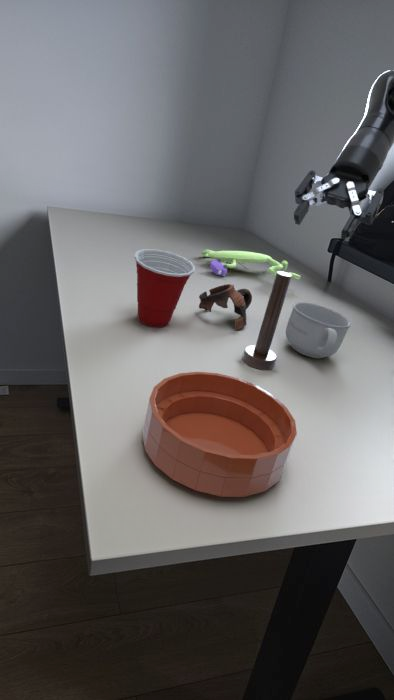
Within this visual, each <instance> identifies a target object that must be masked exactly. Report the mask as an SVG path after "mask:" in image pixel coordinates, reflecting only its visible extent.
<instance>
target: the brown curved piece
mask: <svg viewBox="0 0 394 700" xmlns="http://www.w3.org/2000/svg"><path fill="white" fill-rule="evenodd" d="M208 291H209V294H208V292H207V291H204V292H202V293H200V294H199V296H198V298H199V300H200V301H199V305H198V309H200V310H204V311H205V312H209V313H211V312H212V308H213V307H214V304H215V305H216V306H218V307H221V308H222V309H228V301H229V299H230V300H231V301H232V304H233V312H234V313H235V314H237V315H239V316H238V317H237V318H235V319H234V320H233V323H234V329H235V331H239V330H241V329H243V328H244V327H246V326H247V309H248V308H249V307H250V305H251V304H252V301H253V294H252V292H251V290H249V289H248V288H239V289H238V290H237V289H235V285H234V284H231V283H230V284H229V283H228V284H222V285H219V286H215V287H212V288H211V289H209V290H208Z"/></svg>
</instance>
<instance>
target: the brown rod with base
mask: <svg viewBox="0 0 394 700" xmlns="http://www.w3.org/2000/svg"><path fill="white" fill-rule="evenodd" d="M276 272H277V273H276V275H275V277H274V280H273V283H272V287H271V290H270V295H269V298H268V301H267V305H266V309H265V312H264V315H263V317H262V318H263V319H262V323H261V326H260V328H259V333H258V336H257V340H256V343H255V344H250V345H246V347H245V348H244V352H243V354H242V361H243V362H244V363H245V364H246V365H247V366H249V367H251V368H254V369H256V370H261V371H269V370H272V369H274V368H275V365H276V361H277V358H278V355H277V354H276V353H275V352H274V351H273V350H271V346H272V342H273V340H274V336H275V333H276V329H277V326H278V322H279V319H280V316H281V313H282V309H283V306H284V303H285V300H286V297H287V293H288V289H289V286H290V283H291V280H292V278H293V277H292V275H291V274H289V273H290V272H286V271H285V272H283V271H282V270H277V271H276Z"/></svg>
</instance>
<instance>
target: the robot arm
mask: <svg viewBox="0 0 394 700" xmlns="http://www.w3.org/2000/svg"><path fill="white" fill-rule="evenodd" d="M393 145H394V69H389V70H387V71H384V72H383V73H382V74H380V75H379V76H378V77H377V79H376V80H375V81H374V82H373V84H372V86H371V89H370V91H369V93H368V98H367V103H366V107H365V112H364V116H363V118H362V120H361V121H360V124H359V125H358V127H357V128H356V130H355V132H354V133H353V135H352V136H350V138H349V139H348V140H347V142H346V144H345V145H344V147H343V149H342V150H341V151H340V153H339V155H338V157H337V158H336V159H335V161H334V163H333V165H332V166H331V168H330V170H329V172H328V173H327V174H326V175H324V176H323V177H322V176H320V175H316V171H315V170H309V171H308V173H307V174H306V175H305V176H304V178H303V180H302V181H301V182H300V184H299V185H298V186H297V188H296V189H295V190H294V202H295V204H297V205H298V206H296V209H295V210H294V211H293V221H294V224H295V225H298V226H300V225H301V223H302V222H303V220H304V219H305V217H306V216H307V214H308V212H309V210H310V209H311V208H313V207H316V206H317V207H319V206H322V205H324V204H327V205H330V206H336V207H337V208H340V209H345V208H348V212H349V215H350V216H349V218H348V220H347V221H346V223H345V224H344V226H343V228H342V230H341V235H340V239H342V240H345V241H346V239H347V238H351V237H352V236H353V234H354V233H355V231H356V229H357V228H358V226H359V225H360V224H365V225H367V226H370V225H372V224H373V223H374V220H375V218H376V216H377V214H378V212H379V210H380V208H381V205H382V203H383V199H384V193H385V191H384V188H378V189H376V190H372V189H370V188H371V185H372V184H373V182H374V181H375V179H376V177H377V175H378V174H379V172H380V171H381V170H382V169H383V166H384V163H385V161H386V159H387V156H388V154H389V152H390V150H391V148H392V147H393ZM366 199H368V203H369V206H368V207H367V210H366V211H362V208H361V205H360V202H362V201H364V200H366Z"/></svg>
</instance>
